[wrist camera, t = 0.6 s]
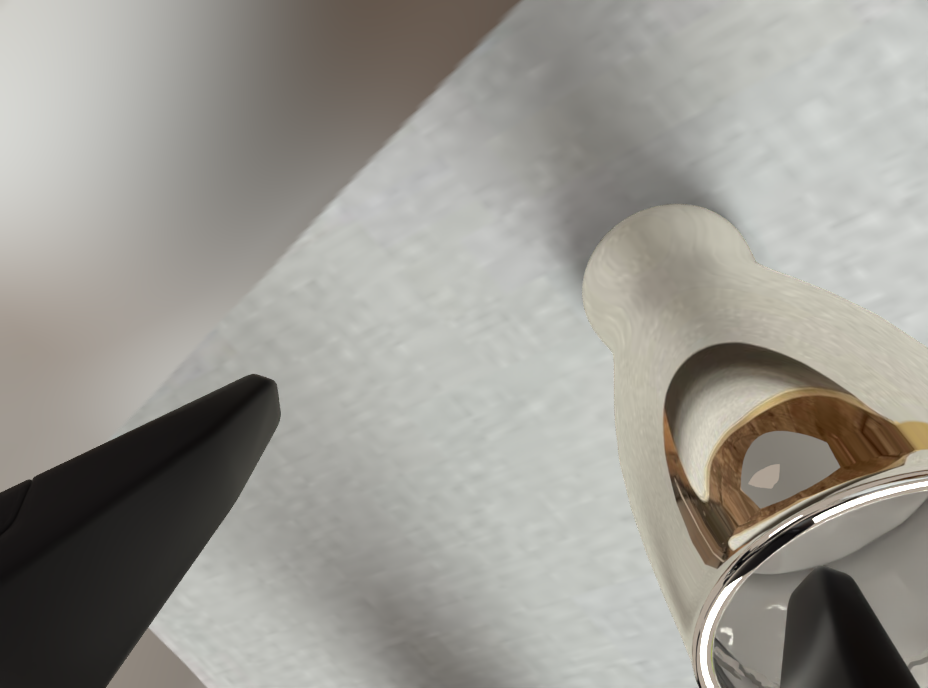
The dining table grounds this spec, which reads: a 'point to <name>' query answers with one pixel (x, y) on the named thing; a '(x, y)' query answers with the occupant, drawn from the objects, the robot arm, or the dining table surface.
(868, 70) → the dining table surface
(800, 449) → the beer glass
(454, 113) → the dining table surface
